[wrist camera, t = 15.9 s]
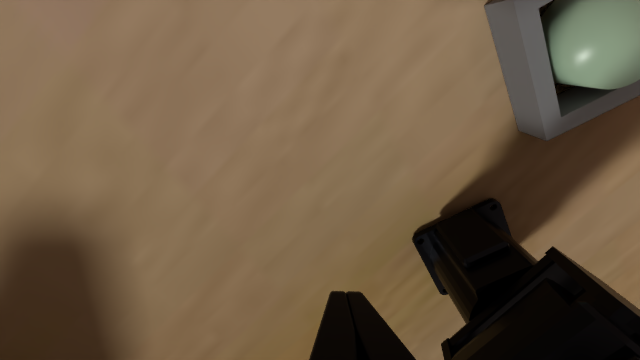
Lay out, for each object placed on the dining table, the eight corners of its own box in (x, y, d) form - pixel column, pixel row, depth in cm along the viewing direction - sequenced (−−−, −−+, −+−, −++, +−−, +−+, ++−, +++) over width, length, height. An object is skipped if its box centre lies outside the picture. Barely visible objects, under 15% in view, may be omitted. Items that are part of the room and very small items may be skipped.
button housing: (648, 65, 18) (696, 67, 16) (518, 130, 19) (546, 141, 17) (636, -84, 15) (694, -107, 13) (484, 5, 16) (512, -2, 14)
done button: (625, 55, 17) (686, 56, 14) (540, 98, 18) (583, 108, 15) (616, -37, 15) (684, -55, 13) (521, 17, 16) (566, 10, 13)
